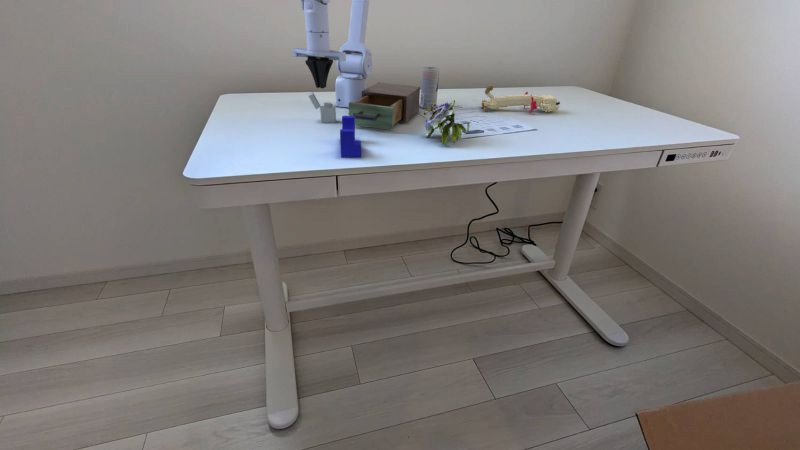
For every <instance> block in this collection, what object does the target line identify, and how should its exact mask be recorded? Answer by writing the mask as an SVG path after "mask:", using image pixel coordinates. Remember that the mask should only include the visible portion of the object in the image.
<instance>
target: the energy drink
mask: <svg viewBox="0 0 800 450" xmlns="http://www.w3.org/2000/svg"><path fill="white" fill-rule="evenodd" d="M439 69H440V68H438V67H434V66H424V67H422V70H421V81H420V82H421V84H420V98H419V107H420V108H421V109H425V110H426V109H427V108H428V106H430V105H431V104H433V103H435V105H434V107H433V110H434V109H436V107H437V102H438V90H439V81H440V80H439V79H440V70H439Z"/></svg>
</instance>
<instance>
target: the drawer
mask: <svg viewBox="0 0 800 450" xmlns="http://www.w3.org/2000/svg"><path fill="white" fill-rule="evenodd" d="M403 113H404V99H400V98H391V97H383V96H374V95H366V96H364V97H363V98H361V99H359V100H357V101H355V102H349V108H348V116H355V126H360V127H367V128H374V129H379V130H380V129H381V130H388V131H393V130H394V126H395V125H396V124H397V123H398V121H399V120H401V119H402V118H403Z"/></svg>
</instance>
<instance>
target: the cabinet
mask: <svg viewBox="0 0 800 450" xmlns="http://www.w3.org/2000/svg"><path fill="white" fill-rule="evenodd" d="M366 95H374V96H383V97H391V98H400V99H404V113H403V118H402V119H401V120H399V121H398V122H397V123H399V124H407V123H408V122H409V121H410V120H411V119H412V118H413V117H415V116H416V115H417V114H418V113H419V112H420V98H421V86H416V85H415V86H414V85H405V84H397V83H389V82H388V83H387V82H376V83H374V84H372V85H371V86H369V87H366V89H365V90H363V91H362V98H363V97H364V96H366Z"/></svg>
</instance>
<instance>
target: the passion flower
mask: <svg viewBox="0 0 800 450" xmlns="http://www.w3.org/2000/svg"><path fill="white" fill-rule="evenodd" d="M455 104H456V100H455V99H452V100H451V102H445V103H442V104H440V105H438V106H436V107H435V110H434V109H433V107H434V105H435V103H433V104H431V105H430V106H428V108H427V109H425V111H424V112H423V115H424V116H426V115H427V114H428V113H430V114H429V116H428V117H427V119H425V125H424V127H425V130H426V131H427V132H426V135H425V137H426V138H430V137H431V136H432V134H433V133H434V132H435V130H436V129H438V130H439V132H440V134H441V144H442V145H443V146H444V147H447V146H448V141H449V139H450V134H451V144H454V143H456V142H457V141H459V140H460V138H461V137H462V133H463V132H464V133H467V132H469V131H470V124H471V122H470V121H468V122H463V123H459V122H455V121H456V120H455V116H456V115H455V114H456V113H455V110H454V106H455ZM464 125H466V127H465V126H464Z"/></svg>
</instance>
